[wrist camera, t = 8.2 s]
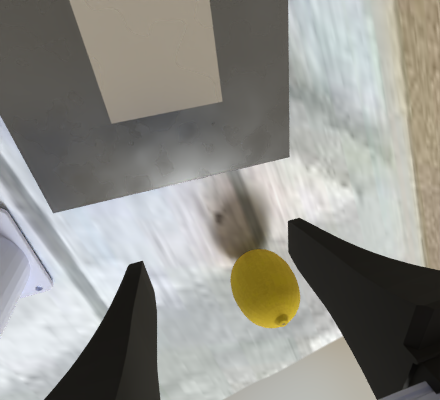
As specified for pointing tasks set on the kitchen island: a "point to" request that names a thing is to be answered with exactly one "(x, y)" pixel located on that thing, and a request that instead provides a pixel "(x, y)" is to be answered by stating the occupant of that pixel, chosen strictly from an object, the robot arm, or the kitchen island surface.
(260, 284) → the lemon
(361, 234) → the kitchen island surface
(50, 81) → the stand base
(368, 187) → the kitchen island surface
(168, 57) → the post
